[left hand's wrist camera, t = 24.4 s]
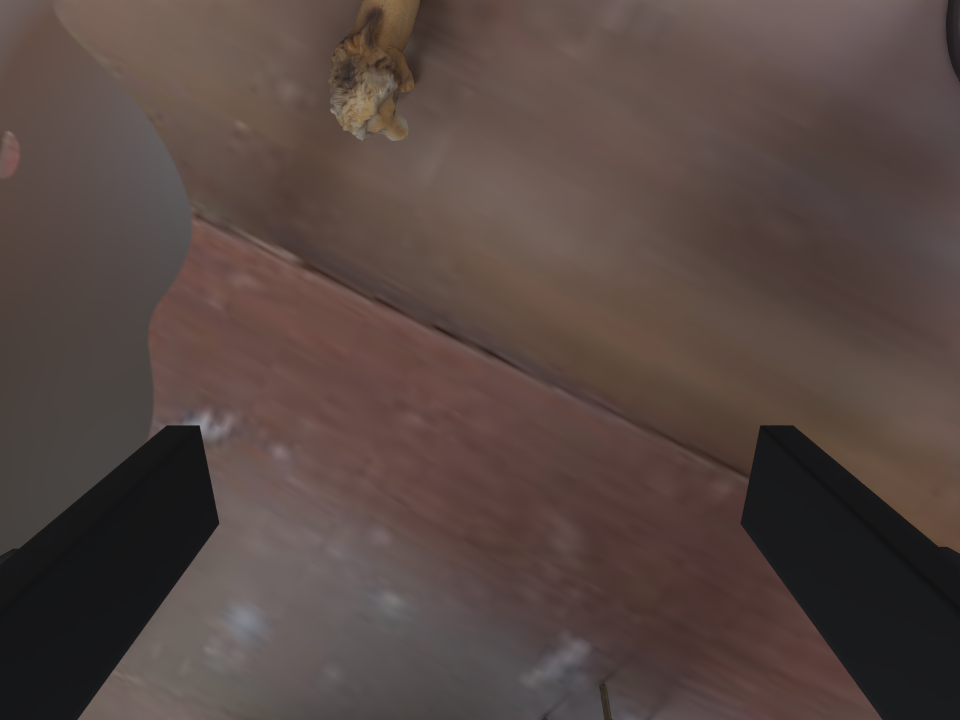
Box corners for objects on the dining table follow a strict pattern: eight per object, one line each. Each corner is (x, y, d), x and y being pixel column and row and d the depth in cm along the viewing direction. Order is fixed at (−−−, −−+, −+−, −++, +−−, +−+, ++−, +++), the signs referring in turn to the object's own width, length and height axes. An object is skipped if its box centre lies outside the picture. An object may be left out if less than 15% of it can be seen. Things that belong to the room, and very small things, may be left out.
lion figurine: (415, 156, 38) (396, 153, 29) (341, 131, 37) (300, 121, 29) (479, -88, 33) (478, -175, 24) (395, -121, 32) (365, -221, 24)
